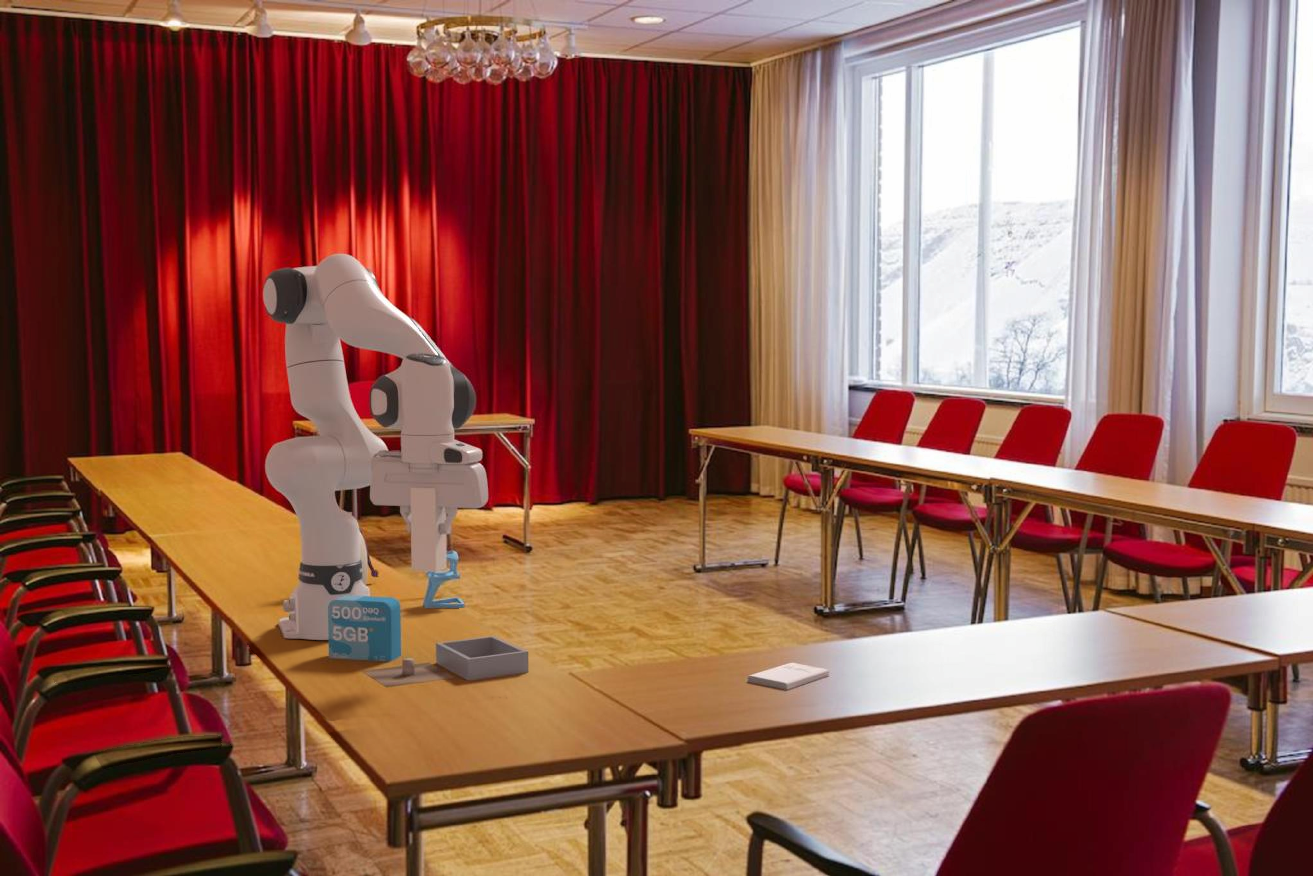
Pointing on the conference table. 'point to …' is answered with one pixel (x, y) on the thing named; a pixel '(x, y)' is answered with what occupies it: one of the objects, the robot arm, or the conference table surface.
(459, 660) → the bin
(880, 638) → the conference table surface
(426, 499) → the strut
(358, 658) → the data package
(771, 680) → the external hard drive
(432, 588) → the light blue frame stand
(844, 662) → the conference table surface
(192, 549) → the conference table surface
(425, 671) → the stud plate
